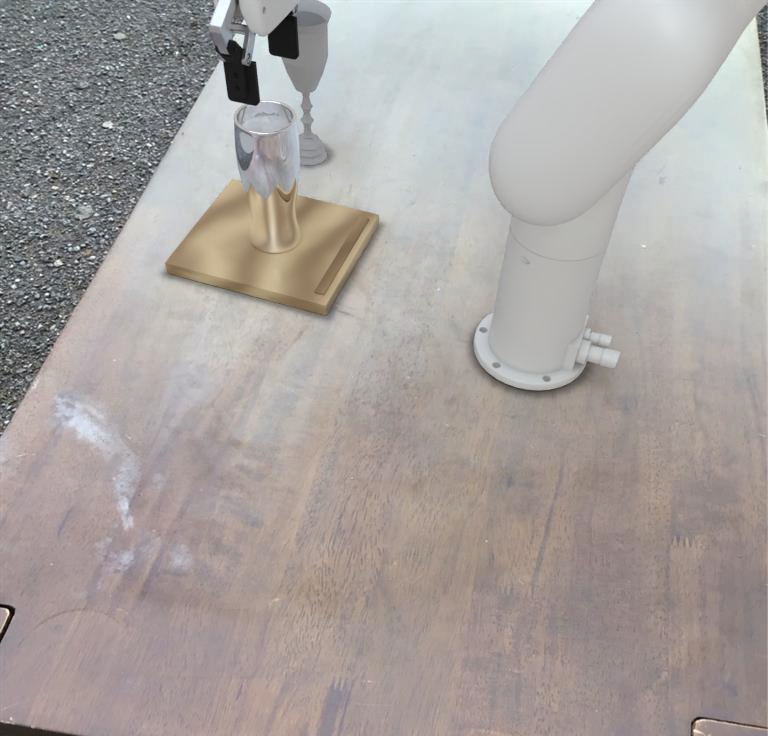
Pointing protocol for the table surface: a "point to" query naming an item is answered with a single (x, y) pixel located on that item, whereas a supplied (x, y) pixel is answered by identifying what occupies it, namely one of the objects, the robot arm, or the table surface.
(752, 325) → the table surface
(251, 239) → the beer glass
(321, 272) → the serving board
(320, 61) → the chalice
